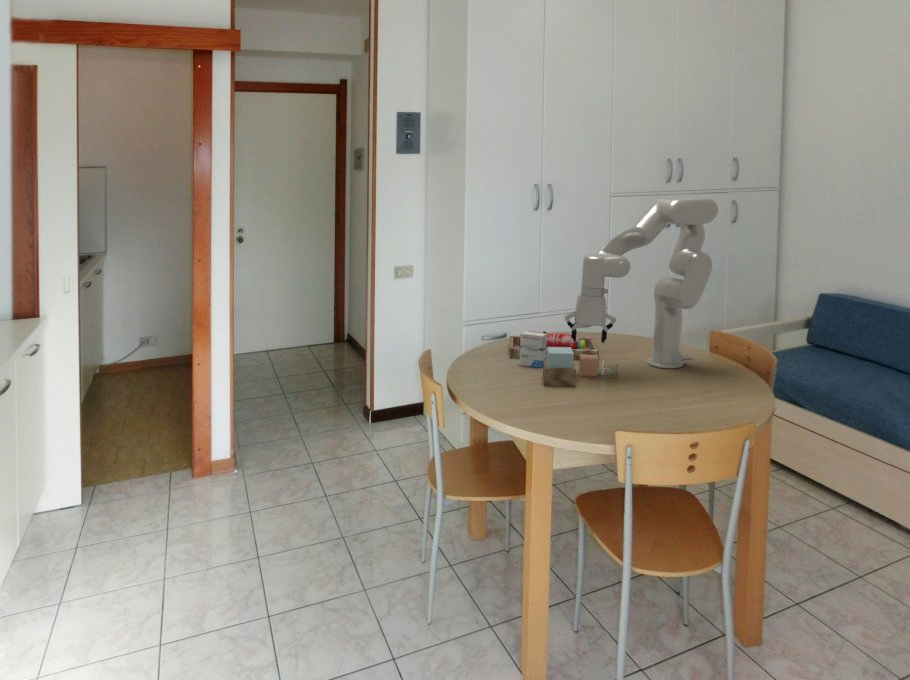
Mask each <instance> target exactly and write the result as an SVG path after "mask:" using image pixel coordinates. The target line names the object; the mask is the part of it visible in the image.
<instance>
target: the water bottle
mask: <svg viewBox="0 0 910 680" xmlns="http://www.w3.org/2000/svg"><path fill="white" fill-rule="evenodd" d="M526 331H527V332H533V331H530V330H526ZM535 332H536V333H541V332H539V331H535ZM522 333H523V332H521V333H520V334H522ZM542 333H544V334H547V341H546V349H547V347H571V349H583V350H586V347H585V340H583V339H582V340H579V338H577V336H576V341H575V342H574V341H573V339H572V338H571V335H572V334H567V333H566V334H565V333H548V332H547V331H543V332H542ZM519 336H521V335H519ZM518 348H520V338H519V346H518Z"/></svg>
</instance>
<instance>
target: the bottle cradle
mask: <svg viewBox="0 0 910 680" xmlns="http://www.w3.org/2000/svg"><path fill="white" fill-rule="evenodd" d="M576 337H577V336H576ZM519 338H520V335H509V339H508V340H509V342H508V343H509V344H508V345H509V354H508V355H509V359H520V347H514V346H513V345H519ZM577 338H579V340H582V339H583V340H585V348H589V349H585V350H583V349H572V351H573V353H574V360H576V361H577V360H578V361H580V355H597V356H598V358H599V355H600V354H599V353H600V351H599V348H598V346H597V343H596V342H595V339H594V338H593V337H582V336H580V337H577ZM546 360H547V349H546Z"/></svg>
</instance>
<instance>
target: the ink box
mask: <svg viewBox="0 0 910 680" xmlns="http://www.w3.org/2000/svg"><path fill="white" fill-rule="evenodd" d="M527 331H528V330H526V331H522V332H521V333H522V334H521V333H520V335H521V336H520V335H519V336H520V347H519V348H520V358H519V365H520V366H524V367H532V368H541V369H543V363H544V360H545V361H547V359H546V341H547V334H544V333H543V332H540V333H536V332H537V331H532V332H527Z"/></svg>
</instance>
